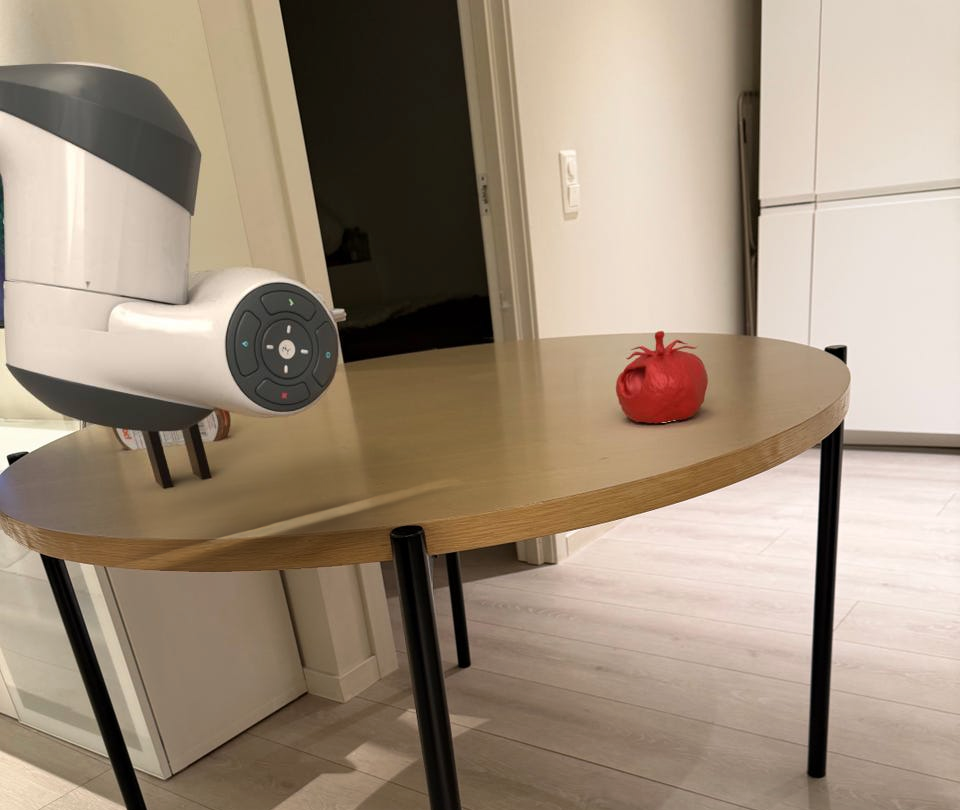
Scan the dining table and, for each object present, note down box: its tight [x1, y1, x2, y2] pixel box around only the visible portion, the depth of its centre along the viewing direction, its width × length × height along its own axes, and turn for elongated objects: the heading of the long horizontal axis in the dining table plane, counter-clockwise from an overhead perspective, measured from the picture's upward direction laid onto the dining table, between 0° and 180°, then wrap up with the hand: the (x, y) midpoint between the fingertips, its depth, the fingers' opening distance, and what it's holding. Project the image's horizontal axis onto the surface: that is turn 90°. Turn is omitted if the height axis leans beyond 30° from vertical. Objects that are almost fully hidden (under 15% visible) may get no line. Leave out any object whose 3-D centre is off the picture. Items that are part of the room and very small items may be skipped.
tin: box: [111, 407, 232, 451], centre depth 112 cm, size 15×3×8 cm, turn 84°
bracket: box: [142, 423, 213, 490], centre depth 91 cm, size 10×8×16 cm
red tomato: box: [615, 330, 709, 424], centre depth 97 cm, size 10×10×9 cm
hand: (177, 331), depth 74 cm, fingers closed
